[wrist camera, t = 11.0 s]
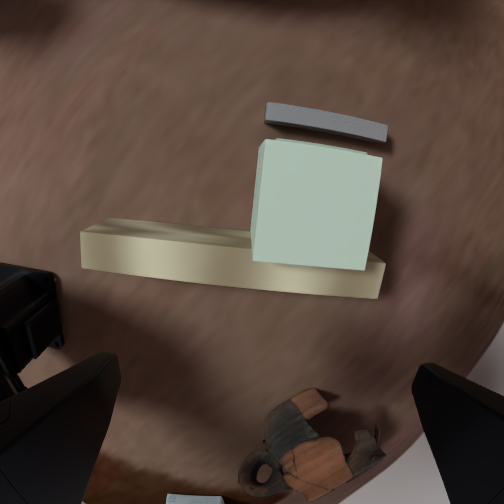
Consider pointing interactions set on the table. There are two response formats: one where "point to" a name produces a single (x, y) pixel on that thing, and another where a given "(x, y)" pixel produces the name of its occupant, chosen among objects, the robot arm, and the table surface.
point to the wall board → (213, 259)
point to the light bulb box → (193, 499)
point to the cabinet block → (314, 204)
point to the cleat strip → (325, 122)
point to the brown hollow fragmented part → (306, 452)
